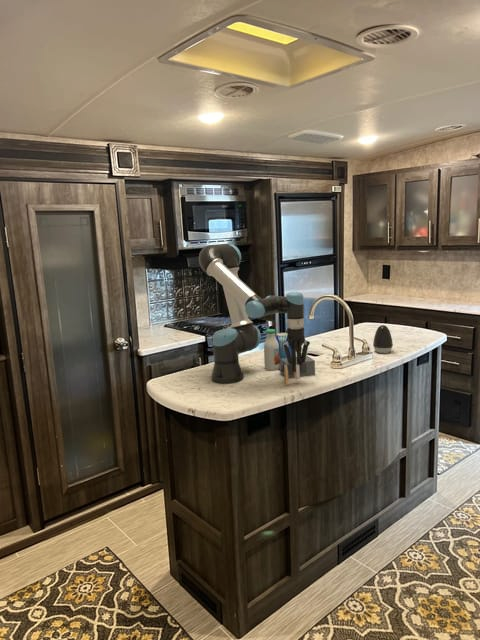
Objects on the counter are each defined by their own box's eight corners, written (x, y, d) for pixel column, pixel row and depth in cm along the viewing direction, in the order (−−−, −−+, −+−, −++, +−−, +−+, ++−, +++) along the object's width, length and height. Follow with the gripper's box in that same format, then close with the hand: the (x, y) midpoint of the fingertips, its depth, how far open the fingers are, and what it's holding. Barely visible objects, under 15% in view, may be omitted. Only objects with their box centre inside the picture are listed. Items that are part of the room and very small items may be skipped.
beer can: (291, 366, 238) (290, 335, 235) (275, 366, 240) (273, 335, 237) (292, 361, 246) (291, 332, 243) (277, 361, 248) (275, 332, 245)
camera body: (284, 378, 219) (283, 362, 217) (277, 372, 228) (277, 357, 227) (315, 374, 222) (314, 358, 221) (307, 369, 232) (306, 354, 230)
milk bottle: (269, 371, 231) (268, 332, 228) (261, 368, 238) (260, 329, 235) (282, 368, 235) (281, 329, 231) (274, 365, 242) (273, 327, 238)
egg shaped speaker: (372, 354, 253) (372, 326, 250) (374, 349, 262) (374, 323, 260) (391, 355, 249) (392, 327, 246) (393, 350, 258) (393, 323, 256)
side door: (283, 377, 218) (283, 364, 217) (287, 377, 218) (286, 363, 217) (285, 385, 206) (284, 371, 205) (288, 385, 206) (288, 371, 205)
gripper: (285, 330, 202) (287, 382, 206) (312, 327, 206) (313, 378, 210) (278, 327, 209) (280, 378, 213) (305, 324, 213) (306, 374, 217)
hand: (296, 378), depth 212 cm, fingers closed
